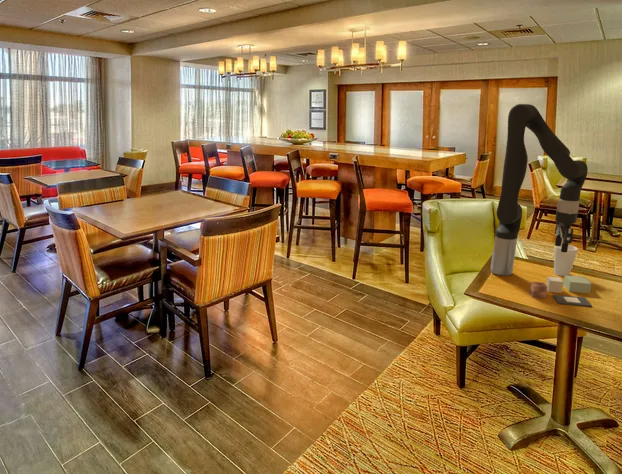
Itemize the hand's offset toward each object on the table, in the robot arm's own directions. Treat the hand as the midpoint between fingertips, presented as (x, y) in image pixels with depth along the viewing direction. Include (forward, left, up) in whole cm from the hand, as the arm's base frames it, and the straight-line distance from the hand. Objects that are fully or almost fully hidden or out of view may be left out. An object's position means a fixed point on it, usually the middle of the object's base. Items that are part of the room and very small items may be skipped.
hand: (560, 248), depth 191 cm
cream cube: (0, 0, -18) cm, 18 cm away
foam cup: (+9, +22, -18) cm, 30 cm away
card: (+4, -11, -18) cm, 22 cm away
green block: (+10, +4, -18) cm, 21 cm away
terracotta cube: (-8, -8, -18) cm, 22 cm away
